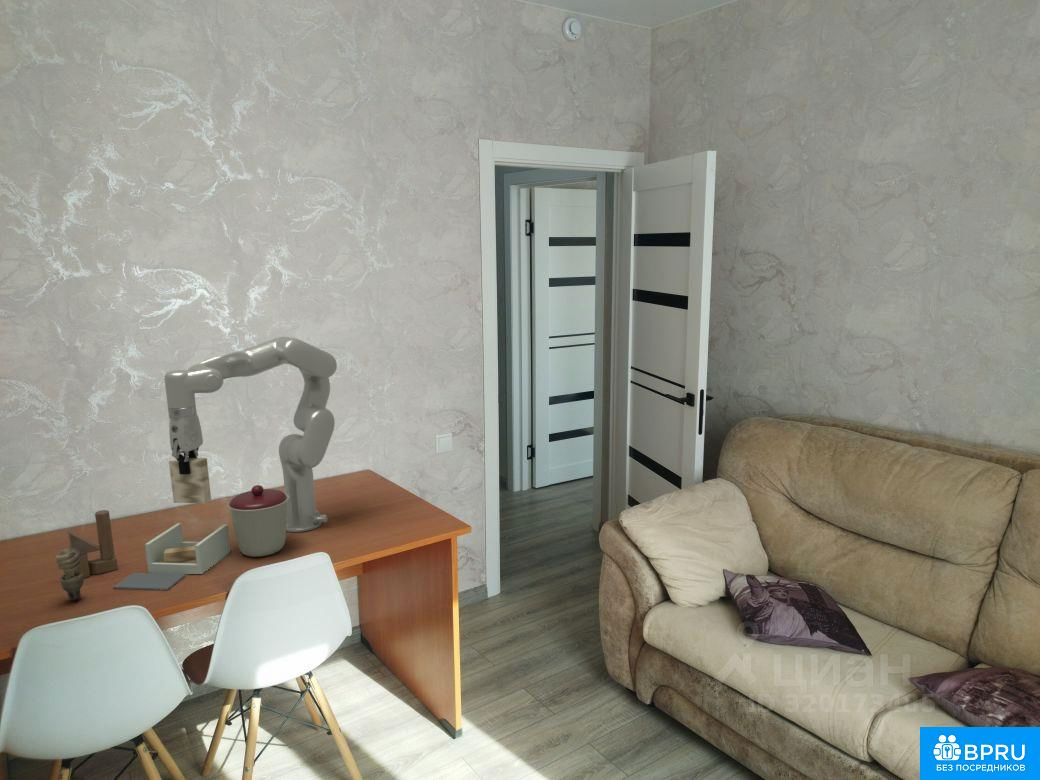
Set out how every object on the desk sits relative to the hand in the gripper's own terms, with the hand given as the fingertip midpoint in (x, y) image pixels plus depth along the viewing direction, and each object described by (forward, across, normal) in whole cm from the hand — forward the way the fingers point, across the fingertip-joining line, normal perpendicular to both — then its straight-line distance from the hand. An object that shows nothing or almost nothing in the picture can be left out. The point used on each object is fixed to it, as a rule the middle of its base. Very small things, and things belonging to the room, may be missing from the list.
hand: (189, 471), depth 219 cm
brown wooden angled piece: (+27, -13, +24) cm, 39 cm away
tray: (+27, -3, 0) cm, 27 cm away
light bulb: (+27, -30, +18) cm, 45 cm away
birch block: (+9, 0, 0) cm, 9 cm away
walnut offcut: (+28, -9, 0) cm, 29 cm away
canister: (+27, +6, -18) cm, 33 cm away
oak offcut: (+25, -8, 0) cm, 26 cm away
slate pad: (+27, -18, +4) cm, 33 cm away
